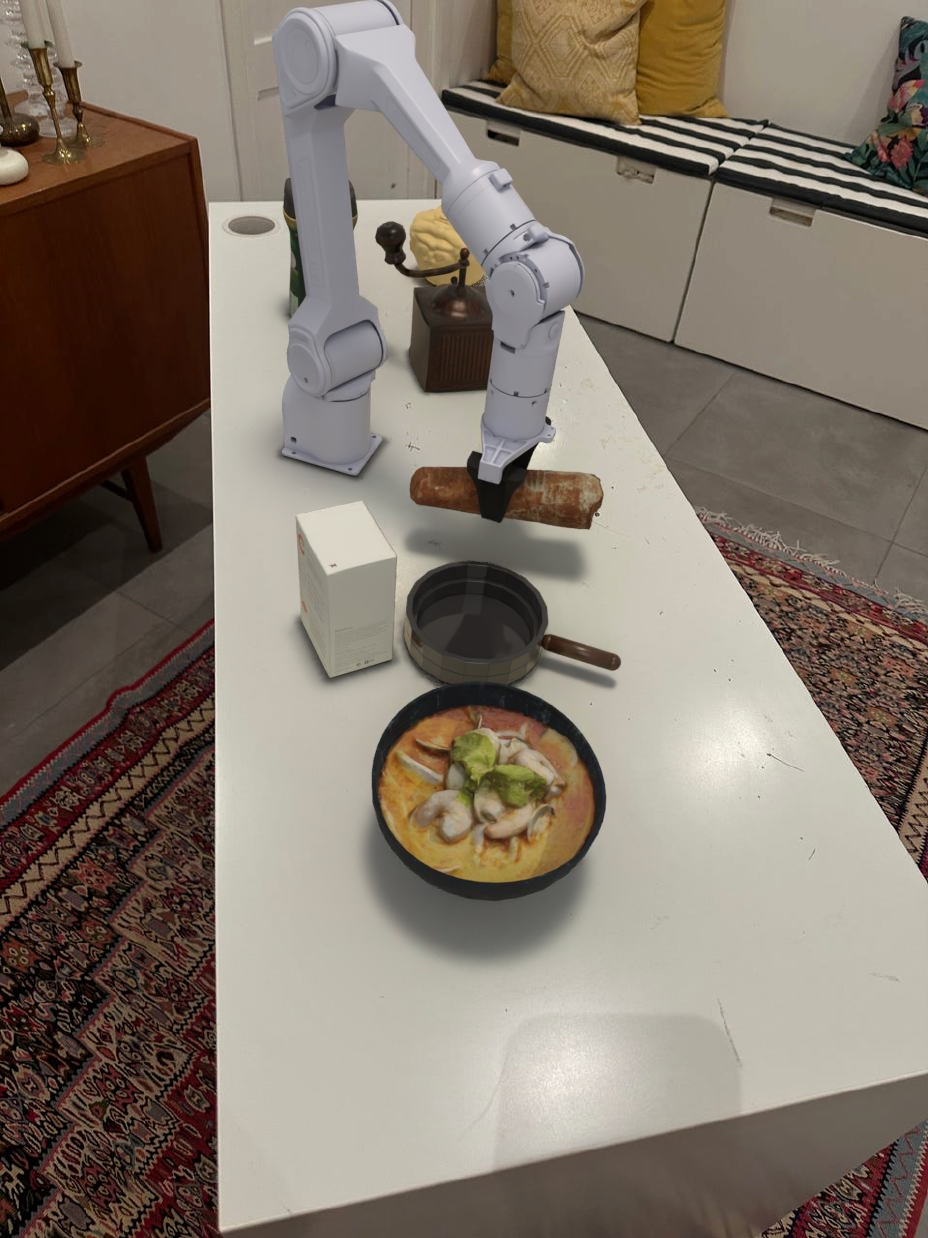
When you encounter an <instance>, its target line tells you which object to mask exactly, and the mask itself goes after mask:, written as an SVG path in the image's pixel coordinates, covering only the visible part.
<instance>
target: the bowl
mask: <svg viewBox="0 0 928 1238" xmlns="http://www.w3.org/2000/svg"><path fill="white" fill-rule="evenodd" d="M371 767H372V768H371V798H372V799H371V800H372V805H373V810H374V814H375V816H376V820H377V824H378V827H379V829H380V832H381V834H382V836H383V838H384V839H385V841H386V843H387V844H388V846H389V847H390V849H391V851H392V852H393V853H394V854H395V856H397V858H398V859H399V860H400V861H401V862H402V863H403V865H404V866H405V867H406V868H407V869H408V870H410V871H411V872H413V874H415V875H416V876H418V877H419V878H420V879H421V880H423V881H424V882H425V883H427V884H429V885H430V886H433V887H435V888H437V889H439V890H441V891H442V892H445V893H447V894H451V895H453V896H454V895H455V896H457V897H461V898H464V899H468V900H474V901H475V900H476V901H478V900H479V901H487V902H501V901H506V900H515V899H519V898H523V897H527V896H528V895H531V894H532V895H533V894H536V893H539V892H541V891H544V890H546V889H547V888H549V887H550V886H552V885H553V884H555V883H556V882H559V881H560V880H561V879H562V878H564V877H566V876H567V875H569V874H570V873H571V872H572V870H574V869H575V867H577V865H579V863H580V862H581V861H582V860H583V859H584V858H586V857H585V856H586V855H587V854H588V852H589V850H590V848H591V847H592V845H593V843H594V842H595V840H596V838H597V837H598V836H599V834H600V830H601V827H602V826H603V823H604V819H605V814H606V810H607V790H606V782H605V778H604V774H603V770H602V767H601V765H600V762H599V759H598V757H597V756H596V753H595V752H594V749H593V748H592V746H591V744H590V743H589V741H588V740H587V738H586V736H585V735H584V734H583V733H582V732H581V730H580V729H579V728H578V727H577V725H576V724H575V723H574V722H573V721H572V720H571V719H570V718H569V717H568V716H566V714H564V713H563V712H562V711H561V710H560V709H558V708H557V707H555V706H554V705H553V704H551V703H549V702H547V701H546V700H545V699H543V698H542V697H539V696H538V695H536V694H533V693H531V692H530V691H527V690H524V689H522V688H519V687H516V686H513V685H509V684H507V685H505V684H501V683H493V682H480V681H471V682H462V683H456V684H446V685H443V686H439V687H435V688H433V689H431V690H429V691H427V692H424V693H422V694H421V695H419V696H416V697H415V698H414V699H412V700H411V701H409V702H408V703H407V704H406V705H404V706H403V707H402V708H401V709H399V711H397V713H396V714H395V715H394V716H393V718H392V719H391V720H390V721H389V723H388V724H387V726H386V727H385V729H384V731H383V732H382V734H381V736H380V738H379V741H378V743H377V745H376V747H375V752H374V756H373V760H372V766H371Z"/></svg>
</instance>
